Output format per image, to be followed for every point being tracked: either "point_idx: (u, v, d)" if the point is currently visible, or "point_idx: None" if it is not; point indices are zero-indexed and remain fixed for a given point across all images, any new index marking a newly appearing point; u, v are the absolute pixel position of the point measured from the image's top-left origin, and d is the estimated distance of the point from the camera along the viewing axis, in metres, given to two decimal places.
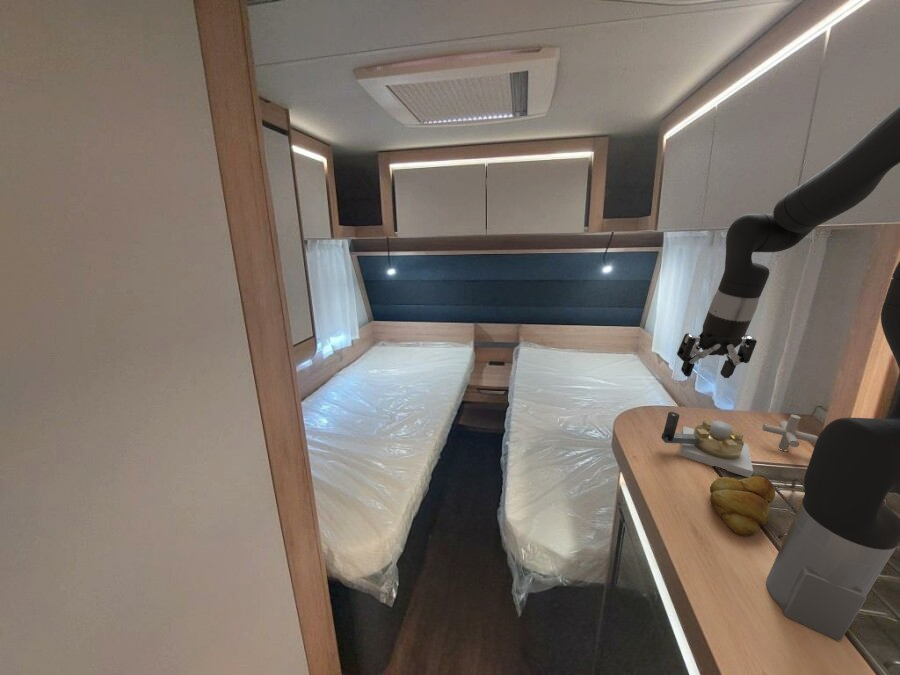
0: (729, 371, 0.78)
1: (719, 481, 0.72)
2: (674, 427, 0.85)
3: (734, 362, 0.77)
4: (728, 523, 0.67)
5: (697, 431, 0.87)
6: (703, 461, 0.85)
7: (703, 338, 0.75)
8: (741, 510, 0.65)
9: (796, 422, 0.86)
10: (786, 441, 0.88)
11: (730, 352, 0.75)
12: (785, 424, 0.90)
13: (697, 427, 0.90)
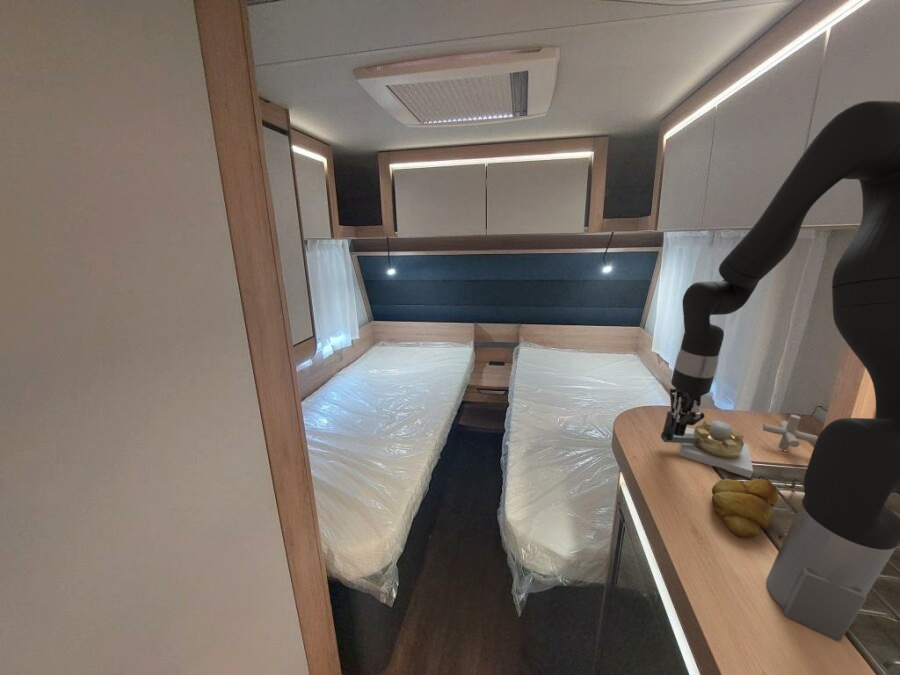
0: None
1: (720, 483, 0.71)
2: None
3: None
4: (729, 525, 0.66)
5: (697, 431, 0.87)
6: (703, 461, 0.85)
7: (699, 404, 0.76)
8: (742, 512, 0.65)
9: (796, 422, 0.86)
10: (786, 441, 0.88)
11: None
12: (785, 424, 0.90)
13: (697, 427, 0.90)
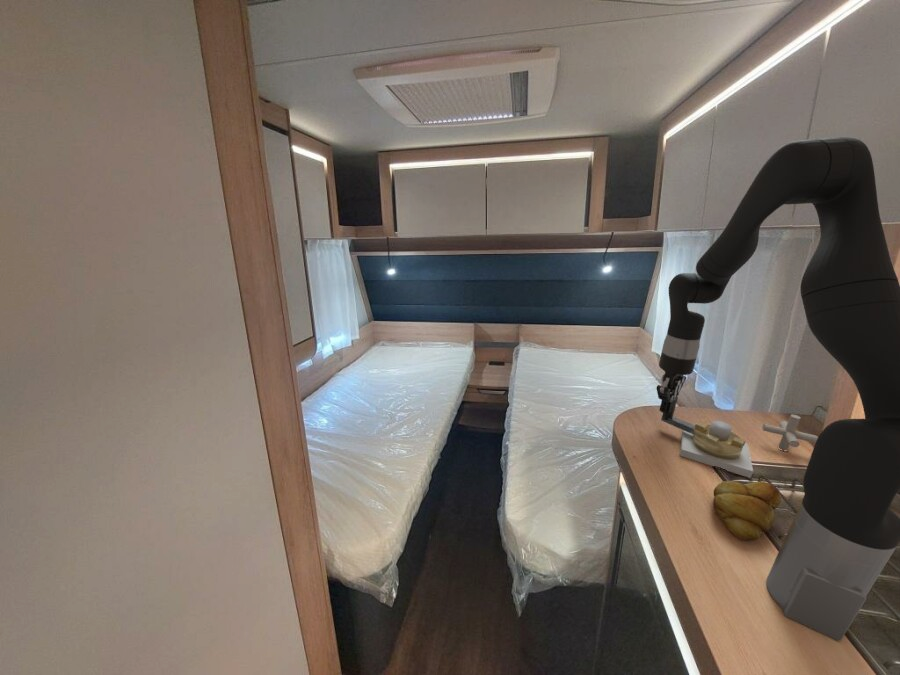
0: (670, 406, 0.91)
1: (722, 485, 0.71)
2: None
3: (673, 398, 0.91)
4: (729, 527, 0.66)
5: None
6: (703, 461, 0.85)
7: (670, 381, 0.86)
8: (743, 514, 0.65)
9: (796, 422, 0.86)
10: (786, 441, 0.88)
11: (679, 385, 0.89)
12: (785, 424, 0.90)
13: (710, 425, 0.91)
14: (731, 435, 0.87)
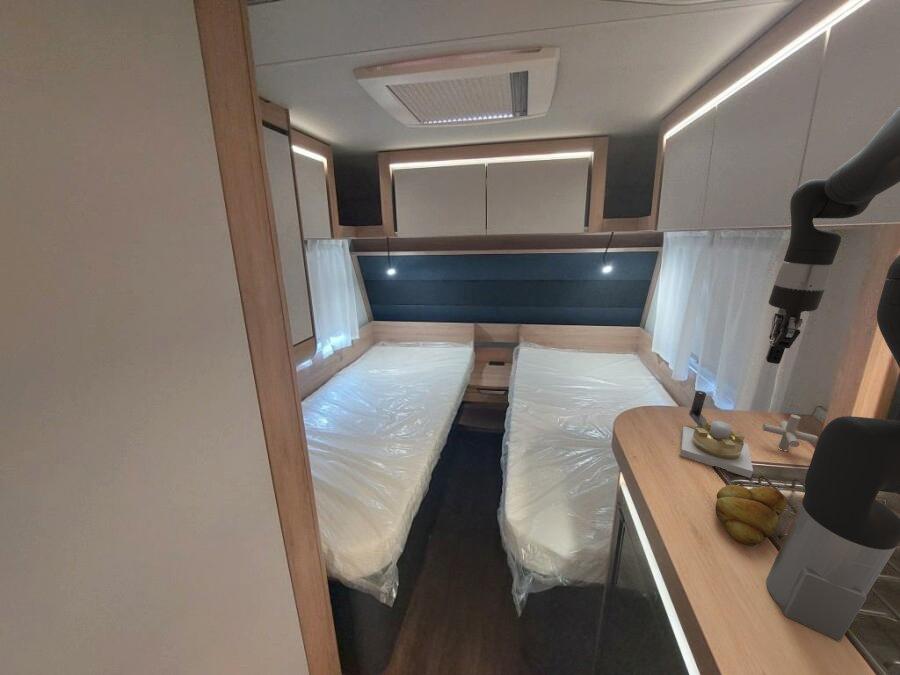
0: None
1: (725, 488, 0.70)
2: (693, 402, 0.97)
3: None
4: (729, 530, 0.65)
5: None
6: (703, 461, 0.85)
7: (797, 321, 0.69)
8: (744, 518, 0.64)
9: (796, 422, 0.86)
10: (786, 441, 0.88)
11: None
12: (785, 424, 0.90)
13: None
14: (735, 441, 0.84)
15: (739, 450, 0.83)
